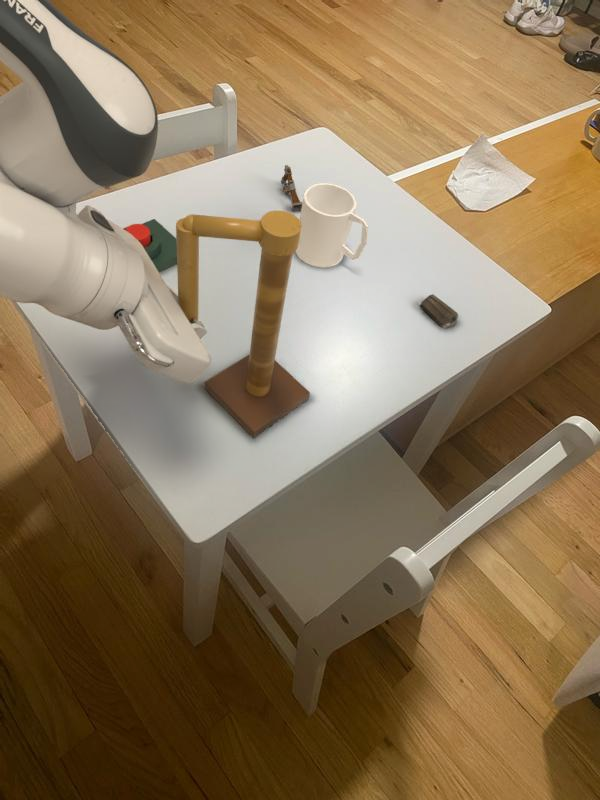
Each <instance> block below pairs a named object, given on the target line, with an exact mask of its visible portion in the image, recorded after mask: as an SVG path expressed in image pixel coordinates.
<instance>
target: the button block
mask: <svg viewBox="0 0 600 800" xmlns="http://www.w3.org/2000/svg"><path fill="white" fill-rule="evenodd" d="M141 224H142V225H145V226H147V227H148V228H149V230H150V238H151V242H150V244H149V245H148V246H147V247H144V249H145V251H146V252H147V254H148V256H149V257H150V259H151V260H152V262H153V264H154V265H155V267H156V269H157V270H158V272H159V273H161V272H163V271H165V270H167V269H169V268H171V267H173V266H176V265H177V240H176V236H174V235H173V234H172V233H171V232H169V230H167V229H166V228H165V227H164V226H163V225H162V224H161V223H160V222H158V221H157V220H156V219H155V218H153V219H150V220H148V221H145V222H143V223H141ZM127 227H128V226H126V227H122V229H124V230H126V228H127Z"/></svg>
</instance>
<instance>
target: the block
mask: <svg viewBox="0 0 600 800" xmlns="http://www.w3.org/2000/svg"><path fill="white" fill-rule="evenodd" d="M419 306H420V308H422V310H423V311H424V312H425V313H426V314H427V315H428V316H429V317H430V318H431V319H433V321H434V322H435V323H436V324H437V325H438V326H439V327H440V328H442V329H443V328H444V329H447V328H451V327H453V326H455V324H456V323H457V321H458V319H459V313H458V312H457V311H456V310H454V309H453V308H452V307H451V306H449V305H448V304H447V303H445V302H444V301H443V300H442V299H440V298H439V297H438V296H436V295H435V294H434V293H432V294H429V295H428V296H427V297H425V298H424V300H423V301H422V302H421V303H420V305H419Z"/></svg>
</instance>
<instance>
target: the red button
mask: <svg viewBox="0 0 600 800" xmlns="http://www.w3.org/2000/svg"><path fill="white" fill-rule="evenodd" d="M142 224H143V223H133V224H130V225H128V226H126V227H127V228H126V230H125V231H127V232H128V233H130V234H131V235H133V236H134V237H135V238H136V239H137V240H138V241H139V242H140V243H141V244H142V246H143V247H147V246H148V245H149V244H150V242H151V238H150V230H149V228H148V227H147V226H145V225H142Z"/></svg>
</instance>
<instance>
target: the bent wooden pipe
mask: <svg viewBox="0 0 600 800" xmlns="http://www.w3.org/2000/svg"><path fill="white" fill-rule="evenodd" d="M300 233H301V222H300V218H299V217H298V216H296V215H295V214H293V213H291V212H288V211H285V210H271V211H268V212H266V213H264V214H263V215H262V217H261V219H260V220H258V219H257V220H256V219H246V218H245V219H244V218H235V217H226V216H215V215H213V216H212V215H205V214H204V215H202V214H192V213H191V214H188V215H186V216H185V217H182V218H179V219H178V220H177V221H176V223H175V238H176V240H177V264H176V269H177V271H176V272H177V274H176V275H177V294H178V304H179V306H180V307H181V309H182V311H183V312H184V314H185V316H186V317H187V319H188V320H189V322H190V321H191V320H192V318H194V319H196V320H198V321H199V297H200V295H199V292H200V291H199V288H200V287H199V284H200V283H199V282H200V281H199V279H200V274H199V273H200V271H199V270H200V237H202V238H213V239H222V240H235V241H246V242H256V243H258V244H259V247H260V248H261V250H262V249H263V250H264V251H266V252H268V253H270V254H272V255H276V256H286V255H290V254H292V253H293V254H294V253H296V250H297V248H298V244H299V238H300Z"/></svg>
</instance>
